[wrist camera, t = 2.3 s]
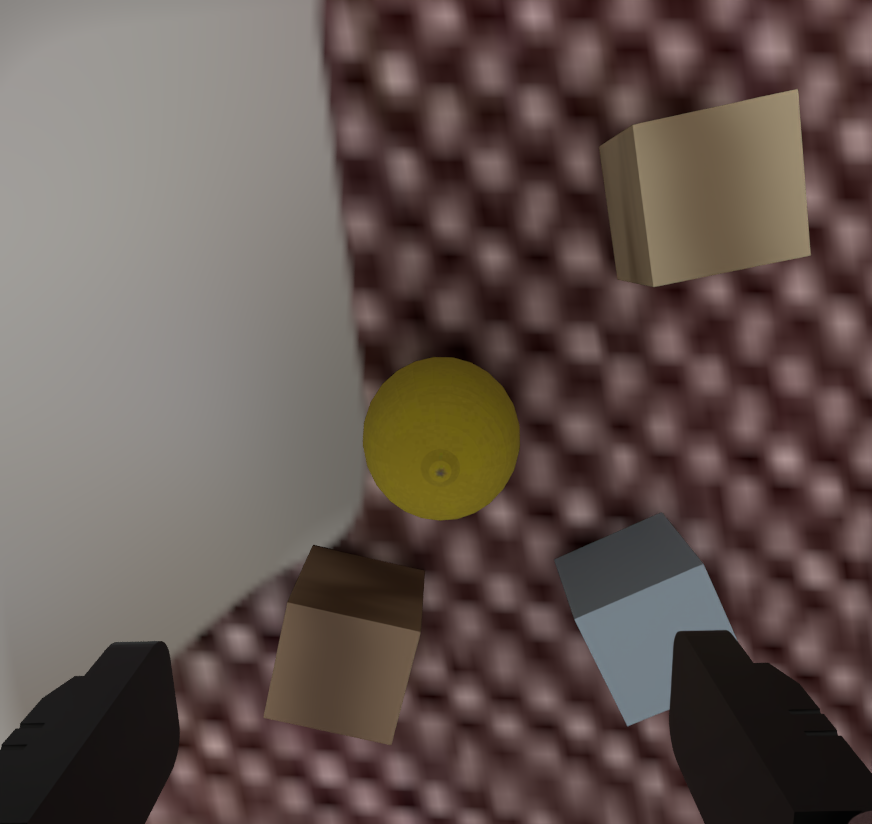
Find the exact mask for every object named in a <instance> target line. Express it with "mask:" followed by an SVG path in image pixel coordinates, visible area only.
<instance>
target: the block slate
mask: <svg viewBox="0 0 872 824" xmlns="http://www.w3.org/2000/svg"><path fill="white" fill-rule="evenodd" d="M554 561H555V564H556V567H557V570H558V573H559V576H560V579H561V582H562V584H563V587H564V590H565V593H566V596H567V599H568V602H569V605H570V608H571V611H572V614H573V617H574V620H575V622H576V624H577V626H578V628H579V630H580V632H581V634H582V636H583V638H584V640H585V642H586V644H587V646H588V648H589V650H590V652H591V654H592V656H593V658H594V660H595V662H596V664H597V666H598V668H599V670H600V672H601V674H602V676H603V678H604V680H605V682H606V684H607V686H608V688H609V690H610V692H611V694H612V696H613V698H614V700H615V702H616V704H617V706H618V708H619V710H620V712H621V714H622V716H623V718H624V720H625V722H626V724H627V726H629V725H632V724H634V723H637V722H639V721H642V720H644V719H647V718H649V717H652V716H654V715H656V714H659V713H661V712H664V711H666V710H669V709H670V694H671V676H672V659H673V644H674V638H675V635H676V633H677V632H678V631H703V630H728V631H729V632H731V634H732V635H733V636H734V637H735V639H736V636H735V634H734V632H733V630H732V627H731V625H730V623H729V621H728V618H727V616H726V614H725V612H724V609H723V607H722V605H721V603H720V600H719V598H718V596H717V594H716V591H715V589H714V587H713V585H712V582H711V580H710V578H709V575H708V573H707V571H706V569H705V566H704V564H703V563H702V562H701V560H700V559H699V558H698V557H697V555H696V554H695V553H694V552H693V550H692V549H691V548H690V547H689V545H688V544H687V543H686V542H685V540H684V539H683V538H682V537H681V535H680V534H679V533H678V532H677V530H676V529H675V528H674V527H673V525H672V524H671V523H670V522H669V520H668V519H667V518H666V517H665V515H664V514H663V513H662V512H661V513H659V514H656V515H654V516H652V517H650V518H647V519H645V520H643V521H641V522H638V523H636V524H634V525H631V526H629V527H627V528H625V529H622V530H620V531H618V532H616V533H613V534H611V535H609V536H606V537H604V538H602V539H600V540H597V541H595V542H593V543H591V544H588V545H586V546H584V547H581V548H579V549H577V550H575V551H572V552H570V553H568V554H566V555H563V556H561V557H559V558H557V559H554ZM736 640H737V639H736Z"/></svg>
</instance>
